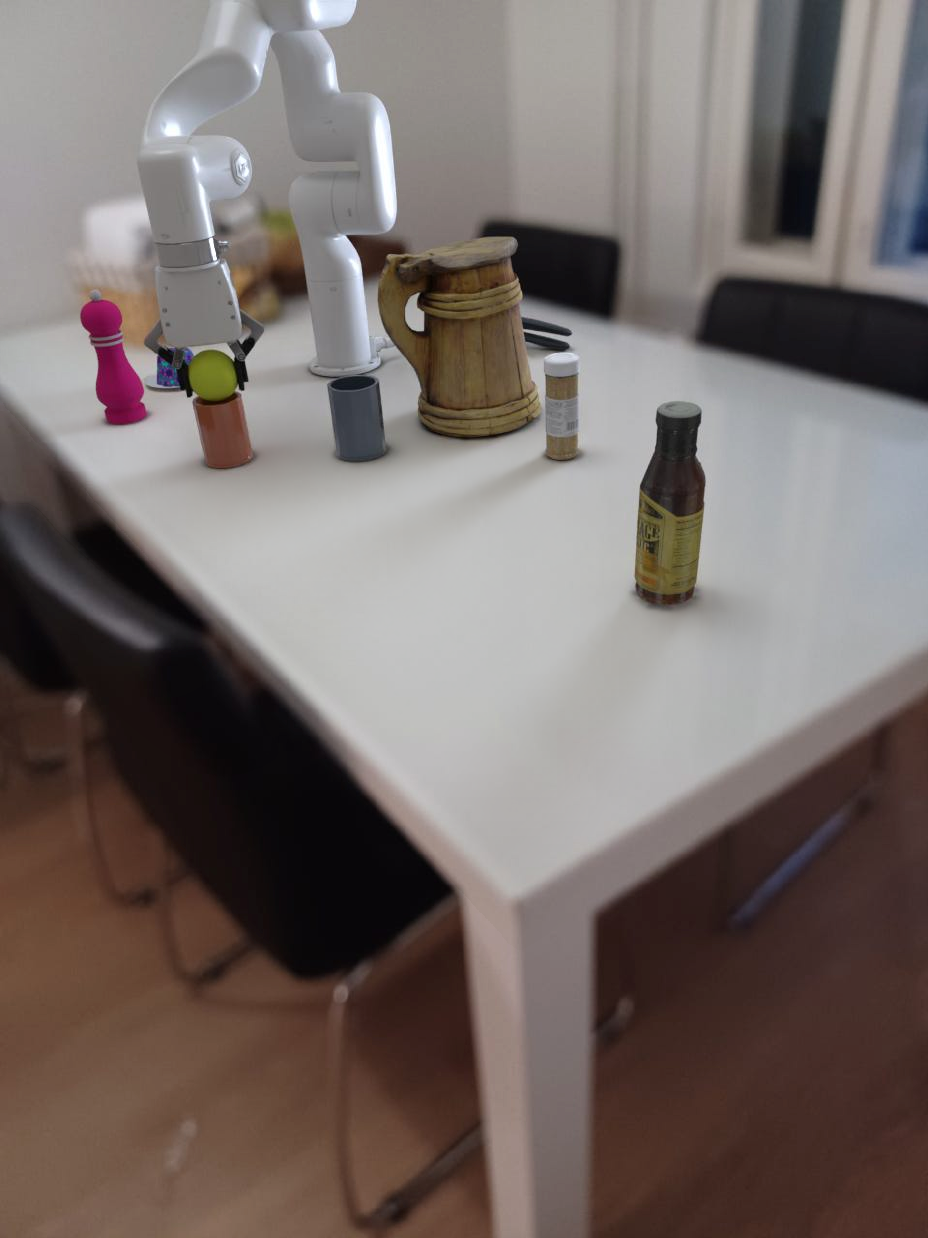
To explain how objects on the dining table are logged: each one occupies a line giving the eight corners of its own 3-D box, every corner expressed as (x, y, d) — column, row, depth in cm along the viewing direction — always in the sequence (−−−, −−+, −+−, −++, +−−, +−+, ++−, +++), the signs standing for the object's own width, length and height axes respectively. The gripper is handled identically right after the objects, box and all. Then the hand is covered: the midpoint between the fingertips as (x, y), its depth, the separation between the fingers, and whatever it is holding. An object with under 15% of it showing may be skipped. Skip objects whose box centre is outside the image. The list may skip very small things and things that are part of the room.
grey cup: (372, 438, 139) (364, 371, 134) (395, 453, 134) (387, 383, 129) (328, 450, 136) (318, 382, 131) (350, 465, 131) (341, 395, 126)
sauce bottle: (627, 580, 100) (634, 397, 90) (686, 575, 100) (700, 391, 90) (642, 613, 95) (652, 421, 84) (704, 607, 95) (721, 415, 84)
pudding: (131, 389, 166) (123, 359, 163) (173, 368, 175) (167, 339, 172) (188, 394, 161) (181, 363, 159) (228, 372, 171) (222, 342, 168)
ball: (232, 387, 135) (223, 339, 131) (250, 400, 130) (241, 350, 126) (186, 398, 132) (175, 350, 128) (202, 412, 127) (191, 361, 124)
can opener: (475, 345, 176) (474, 314, 173) (494, 335, 181) (493, 305, 178) (562, 356, 167) (561, 323, 164) (579, 345, 172) (579, 313, 169)
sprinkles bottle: (567, 445, 132) (567, 349, 125) (585, 456, 129) (586, 357, 122) (539, 452, 131) (537, 355, 124) (556, 463, 127) (555, 364, 120)
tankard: (564, 420, 141) (563, 241, 128) (421, 457, 132) (404, 269, 119) (502, 388, 155) (496, 223, 141) (369, 419, 146) (349, 247, 133)
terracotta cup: (242, 446, 139) (231, 386, 135) (259, 460, 135) (248, 398, 130) (199, 458, 137) (186, 397, 132) (215, 472, 132) (201, 409, 127)
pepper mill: (136, 426, 149) (103, 295, 139) (95, 425, 151) (59, 295, 140) (158, 410, 155) (127, 283, 145) (117, 409, 157) (85, 284, 146)
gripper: (256, 240, 125) (278, 374, 135) (120, 254, 123) (153, 390, 132) (257, 251, 119) (281, 391, 129) (114, 266, 116) (149, 408, 126)
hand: (215, 389), depth 130 cm, fingers closed on ball, 6 cm apart
